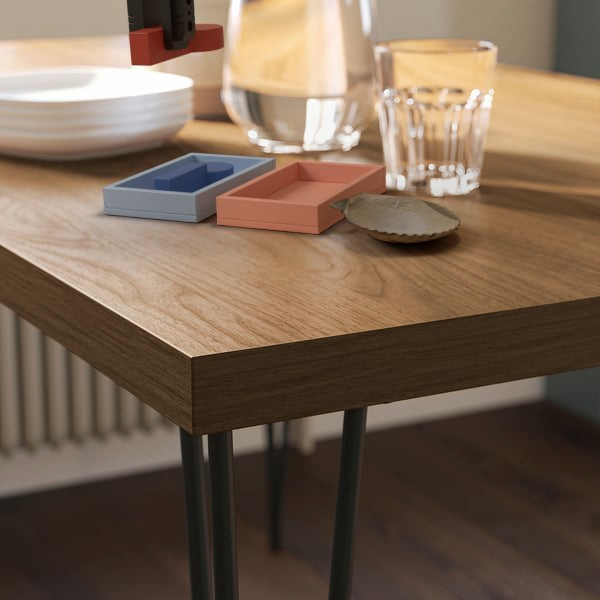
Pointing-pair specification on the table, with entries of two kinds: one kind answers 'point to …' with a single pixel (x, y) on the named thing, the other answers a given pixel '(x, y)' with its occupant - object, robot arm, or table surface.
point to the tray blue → (179, 205)
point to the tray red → (298, 196)
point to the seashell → (397, 217)
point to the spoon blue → (193, 176)
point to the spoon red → (152, 51)
